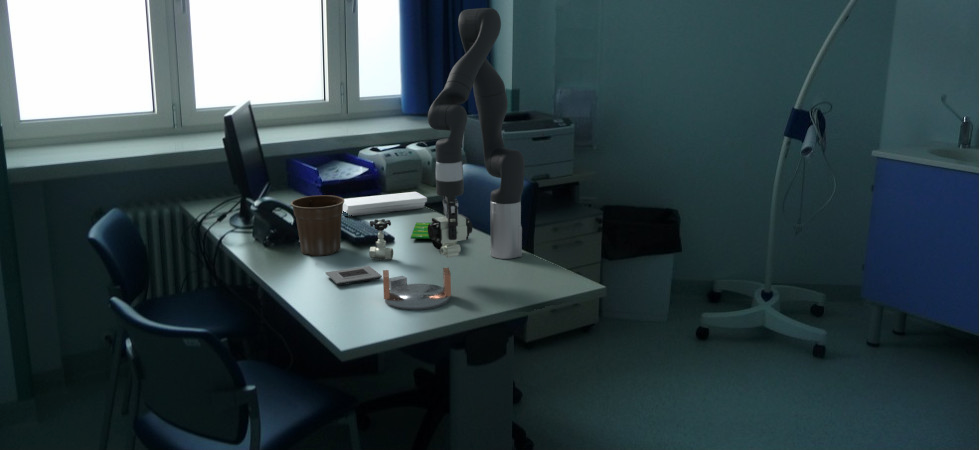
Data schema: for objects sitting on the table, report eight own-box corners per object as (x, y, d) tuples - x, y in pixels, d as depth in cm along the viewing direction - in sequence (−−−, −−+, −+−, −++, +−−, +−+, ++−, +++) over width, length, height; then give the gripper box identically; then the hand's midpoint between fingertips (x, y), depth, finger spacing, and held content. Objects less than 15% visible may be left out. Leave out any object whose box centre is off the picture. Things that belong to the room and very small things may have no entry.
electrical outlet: (337, 289, 246) (336, 281, 245) (325, 279, 255) (325, 271, 254) (382, 282, 252) (381, 274, 251) (369, 272, 261) (369, 264, 260)
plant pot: (300, 261, 270) (297, 209, 266) (288, 247, 285) (285, 198, 280) (352, 254, 277) (350, 204, 273) (339, 241, 291) (336, 193, 287)
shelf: (339, 213, 328) (338, 199, 327) (416, 205, 341) (415, 191, 339) (348, 220, 318) (347, 206, 317) (427, 211, 331) (426, 197, 329)
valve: (388, 263, 268) (387, 225, 265) (367, 262, 269) (366, 223, 266) (395, 257, 274) (394, 219, 271) (374, 256, 275) (373, 218, 272)
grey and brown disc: (447, 287, 246) (447, 261, 244) (452, 308, 230) (452, 281, 228) (383, 290, 244) (382, 264, 242) (384, 312, 228) (383, 284, 226)
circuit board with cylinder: (415, 208, 306) (459, 208, 306) (416, 227, 308) (459, 227, 308) (406, 231, 278) (455, 231, 278) (407, 252, 279) (455, 252, 279)
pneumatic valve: (428, 256, 250) (426, 214, 246) (466, 250, 255) (465, 209, 251) (435, 261, 245) (434, 219, 241) (474, 255, 250) (473, 214, 246)
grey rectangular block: (402, 284, 250) (402, 275, 249) (407, 286, 248) (406, 277, 247) (386, 287, 247) (386, 278, 247) (391, 289, 245) (390, 281, 245)
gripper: (466, 182, 237) (468, 243, 242) (460, 170, 251) (462, 228, 256) (438, 183, 236) (440, 244, 241) (433, 172, 250) (436, 230, 255)
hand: (451, 236), depth 248 cm, fingers closed on pneumatic valve, 5 cm apart
